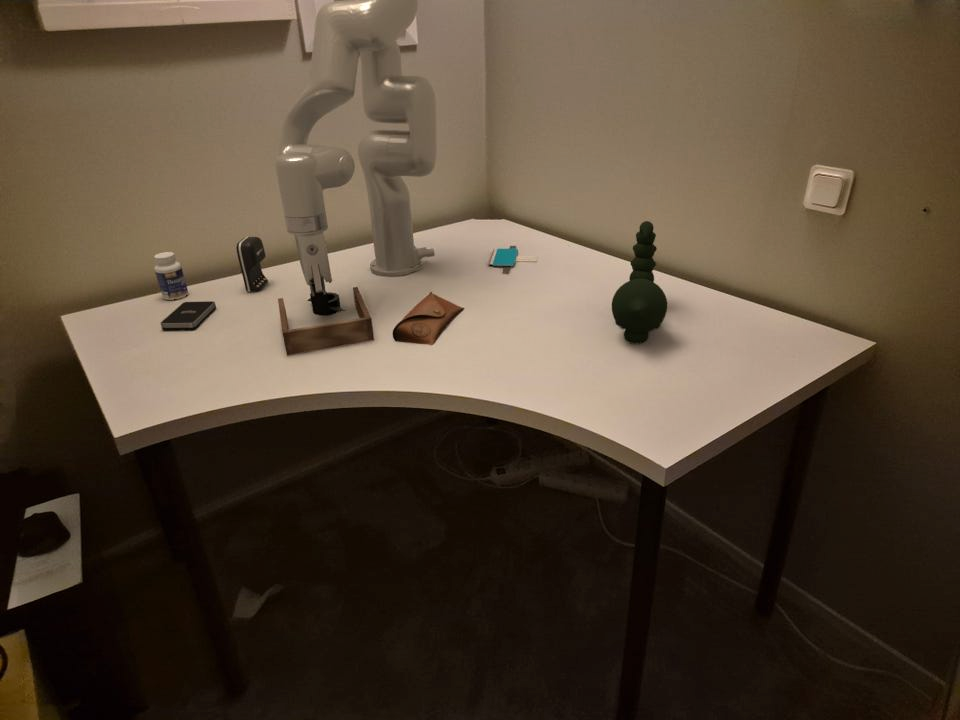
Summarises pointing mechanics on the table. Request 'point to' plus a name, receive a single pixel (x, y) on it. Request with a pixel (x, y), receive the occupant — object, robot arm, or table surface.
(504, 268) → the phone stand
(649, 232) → the dark green bulbous piece
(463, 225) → the table surface
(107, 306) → the table surface
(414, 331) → the sunglasses case
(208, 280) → the table surface
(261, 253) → the battery charger
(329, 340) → the cubby
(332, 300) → the black lugged cup
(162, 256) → the pill bottle
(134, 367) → the table surface
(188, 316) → the external hard drive
